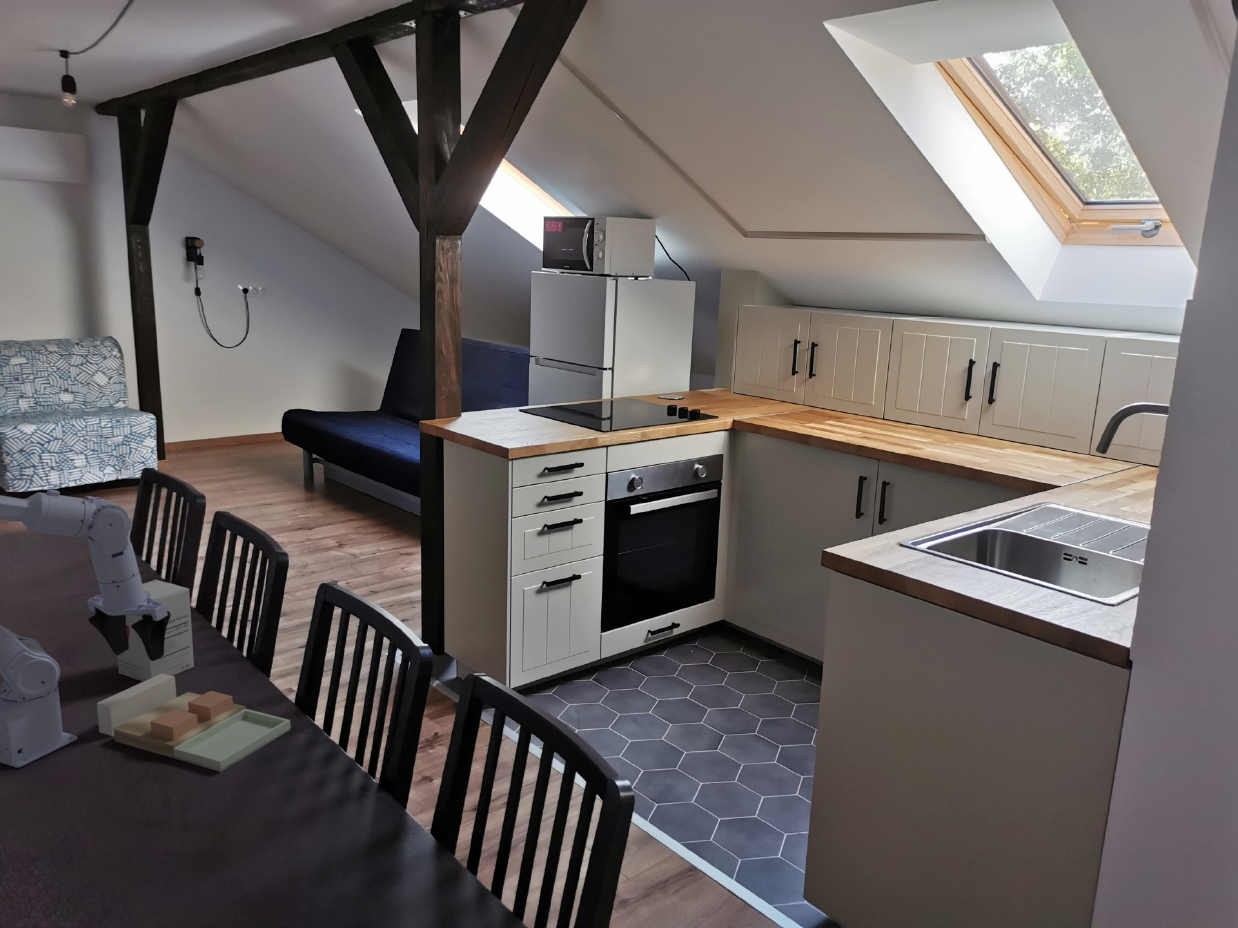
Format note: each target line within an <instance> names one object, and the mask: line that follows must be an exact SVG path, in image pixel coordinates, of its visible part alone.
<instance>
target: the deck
mask: <svg viewBox="0 0 1238 928" xmlns="http://www.w3.org/2000/svg"><path fill="white" fill-rule="evenodd" d="M201 695H202V694H198V693H194V692H190V691H186V692H185V693H183V694H181V695H179V696H176V698H175V699H173V700H171V701H169V702H167V703H165V704H163V705H161V706H159V707H157V708H155V709H153V710H151V711H149V712H146V713H144V714H142V715H140V716H138V717H136V718H134V719H132V720H130V721H128V722H126V723H124V724H122V725H120V726H118V727H116V728H114V736H113V737H114V742H117V743H120V744H122V745H126V746H131V747H134V748H137V749H141V750H145V751H148V752H150V753H154V754H157V755H161V756H165V757H169V758H172V759H175V758H174V749H173V748H175V747H177V746H179V745H180V744H182V743H184V742H186V741H188V740H189V739H191V738H193V737H195V736H197V735H198V734H200V733H202V732H204V731H206V730H208V729H209V728H211V727H213V726H215V725H217V724H218V723H220V722H222V721H224V720H226V719H227V718H229V717H231V716H233V715H235V714H236V713H238V712H240V711H242V710H244V709H246V705H241V704H237V703H234V702H233V708H232V709H230V710H228V711H227V712H225V713H223V714H221V715H219V716H217V717H216V718H214V719H212V720H209V719H205V718H201V717H198V716H197V719H198V727H197V728H195V729H193V730H192V731H190V732H188V733H186V734H184V735H182V736H181V737H179V738H177V739H175V740H172V739H168V738H164V737H161V736H157V735H154V734H151V724H150V721H152V720H154V719H156V718H158V717H160V716H162V715H164V714H166V713H168V712H170V711H172V710H174V709H177V710H181V711H185V712H189V709H188V702H189V701H191V700H193V699H195V698H197V697H199V696H201Z"/></svg>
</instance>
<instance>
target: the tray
mask: <svg viewBox="0 0 1238 928" xmlns="http://www.w3.org/2000/svg"><path fill="white" fill-rule="evenodd" d="M291 727H292V726H291V719H288V718H283V717H279V716H276V715H272V714H269V713H264V712H260V711H256V710H253V709H248V708H245V709H244V710H242V711H240V712H238V713H236V714H235V715H233V716H231V717H229V718H227V719H226V720H224V721H222V722H220V723H218V724H217V725H215V726H213V727H211V728H209V729H208V730H206V731H204V732H202V733H200V734H198V735H197V736H195V737H193V738H191V739H189V740H188V741H186V742H184V743H182V744H180V745H179V746H177V747H175V748H173V749H174V758H173V759H176V760H178V761H182V762H185V763H189V764H192V765H195V766H199V767H202V768H206V769H209V770H213V771H216V772H219V773H223V772H224V771H226V770H227V769H230V768H231V767H232V766H234V765H235V764H237V763H239V762H241V761H243V760H244V759H245V758H247V757H249V756H250V755H252V754H253V753H255V752H256V751H258V750H260V749H262V748H263V747H265V746H266V745H268V744H270V743H272V741H275V740H276V739H277V738H279V737H281V736H282V735H283V736H284V734H286V733H287V732H289V731H291V730H292V729H291Z"/></svg>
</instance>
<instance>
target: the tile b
mask: <svg viewBox="0 0 1238 928" xmlns="http://www.w3.org/2000/svg"><path fill="white" fill-rule="evenodd" d="M200 695H201V696H199V697H197V698H195V699H193V700H191V701H189V702H188V709H189V713H192V714H196V715H197V716H198V717H201V718H205V719H209V720H212V719H214V718H216V717H217V716H219V715H221V714H223V713H225V712H227V711H228V710H230V709H232V708H233V703H234V701H233V695H229V694H225V693H221V692H217V691H215V690H214V691H213V690H210V691H208V692H205V693H204V694H200Z"/></svg>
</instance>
